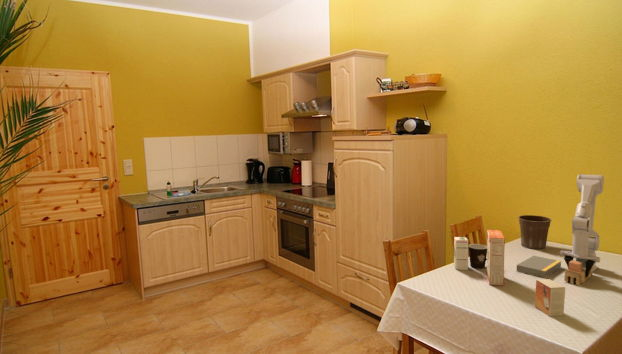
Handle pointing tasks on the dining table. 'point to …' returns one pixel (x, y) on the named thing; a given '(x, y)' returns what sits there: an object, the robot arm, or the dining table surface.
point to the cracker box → (495, 257)
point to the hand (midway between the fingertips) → (578, 274)
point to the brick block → (575, 266)
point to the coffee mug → (477, 255)
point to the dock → (539, 266)
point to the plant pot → (534, 231)
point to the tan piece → (576, 276)
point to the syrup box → (461, 253)
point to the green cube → (582, 261)
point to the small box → (550, 297)
